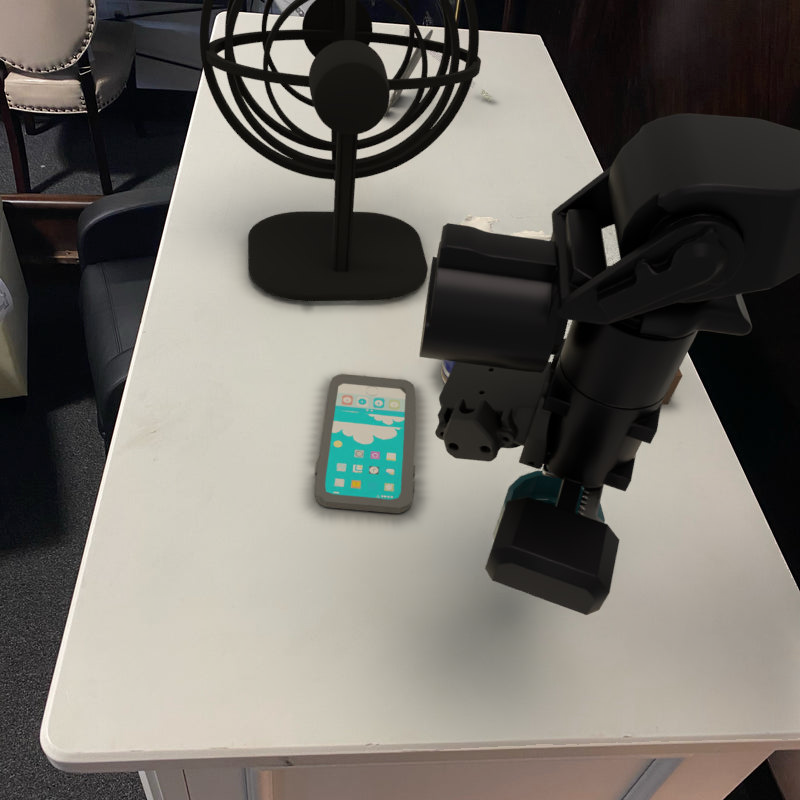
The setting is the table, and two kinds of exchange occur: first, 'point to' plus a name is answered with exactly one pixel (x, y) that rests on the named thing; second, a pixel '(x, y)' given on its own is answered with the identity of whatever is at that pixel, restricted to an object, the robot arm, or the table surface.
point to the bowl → (538, 492)
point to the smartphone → (367, 445)
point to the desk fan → (339, 143)
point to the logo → (410, 69)
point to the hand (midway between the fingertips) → (544, 535)
